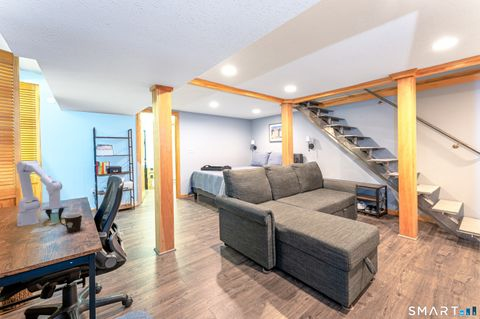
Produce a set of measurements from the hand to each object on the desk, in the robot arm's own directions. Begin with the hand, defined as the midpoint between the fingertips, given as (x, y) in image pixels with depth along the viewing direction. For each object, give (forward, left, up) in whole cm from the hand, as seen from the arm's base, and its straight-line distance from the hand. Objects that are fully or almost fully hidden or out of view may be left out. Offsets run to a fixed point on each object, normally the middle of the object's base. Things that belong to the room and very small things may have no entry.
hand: (55, 219), depth 140 cm
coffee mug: (+12, -19, -4) cm, 23 cm away
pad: (-5, -8, -4) cm, 10 cm away
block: (0, 0, -1) cm, 1 cm away
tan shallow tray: (0, +2, -4) cm, 4 cm away
